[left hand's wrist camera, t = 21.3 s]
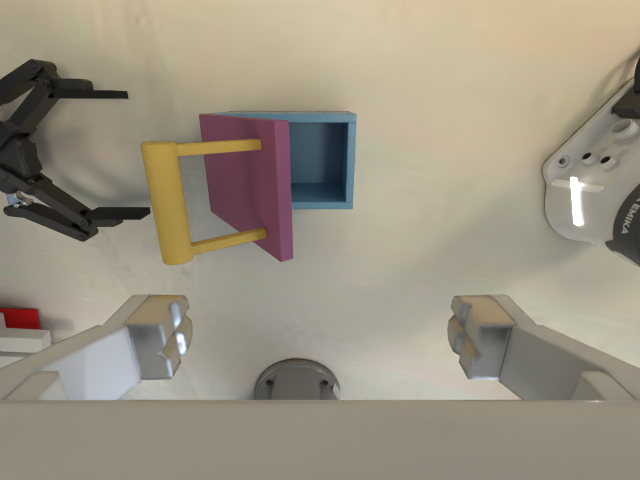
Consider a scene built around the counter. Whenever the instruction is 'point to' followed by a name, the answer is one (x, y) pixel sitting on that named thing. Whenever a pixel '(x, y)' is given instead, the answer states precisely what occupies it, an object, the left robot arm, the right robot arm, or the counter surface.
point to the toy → (20, 335)
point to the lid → (226, 186)
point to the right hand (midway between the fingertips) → (134, 157)
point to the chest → (317, 156)
